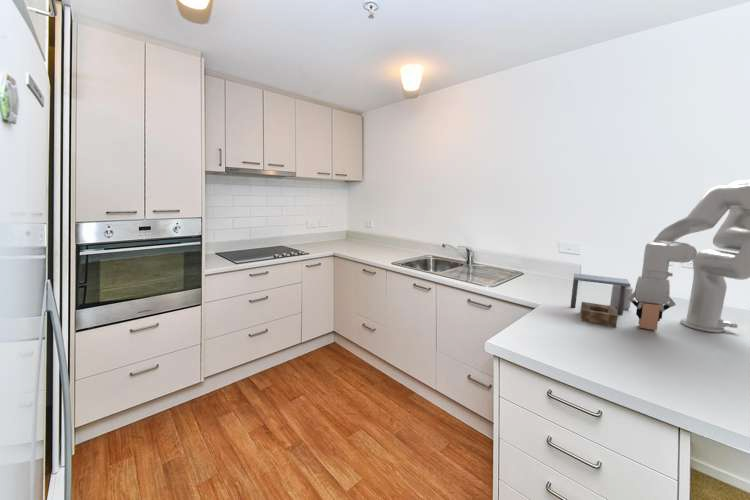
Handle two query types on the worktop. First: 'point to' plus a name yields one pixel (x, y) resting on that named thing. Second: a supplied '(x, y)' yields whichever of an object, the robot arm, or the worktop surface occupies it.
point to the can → (616, 295)
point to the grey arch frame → (604, 280)
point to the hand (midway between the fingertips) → (648, 318)
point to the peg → (649, 316)
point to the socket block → (598, 314)
